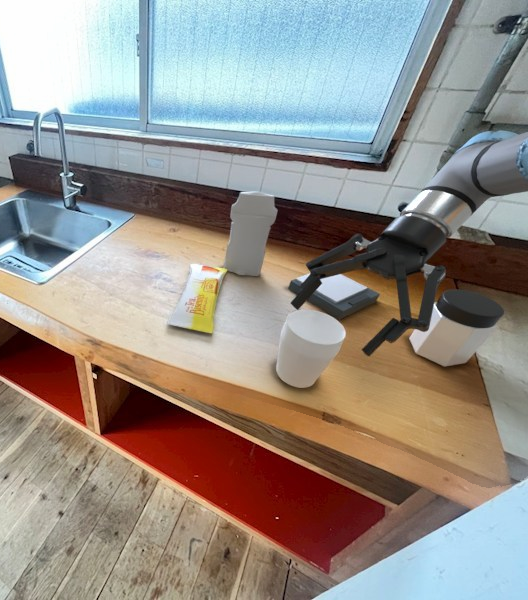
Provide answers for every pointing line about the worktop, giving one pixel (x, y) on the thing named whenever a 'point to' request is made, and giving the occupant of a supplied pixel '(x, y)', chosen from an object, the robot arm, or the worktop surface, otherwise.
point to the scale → (338, 295)
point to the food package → (198, 299)
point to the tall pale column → (249, 232)
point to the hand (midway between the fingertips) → (326, 328)
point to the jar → (457, 327)
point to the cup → (307, 346)
